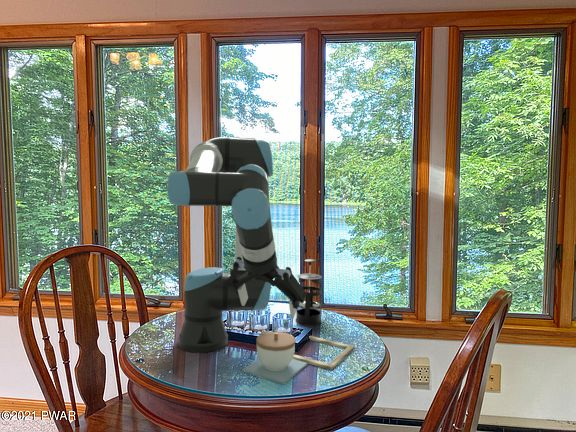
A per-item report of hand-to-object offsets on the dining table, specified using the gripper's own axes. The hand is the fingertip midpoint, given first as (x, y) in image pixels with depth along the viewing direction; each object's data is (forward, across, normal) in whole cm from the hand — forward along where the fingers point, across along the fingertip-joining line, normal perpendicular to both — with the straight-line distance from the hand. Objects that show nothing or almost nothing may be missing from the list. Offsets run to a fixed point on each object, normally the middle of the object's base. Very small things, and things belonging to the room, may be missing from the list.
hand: (269, 307), depth 105 cm
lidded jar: (+18, +2, -6) cm, 19 cm away
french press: (+43, +1, +25) cm, 50 cm away
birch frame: (+26, +11, +6) cm, 29 cm away
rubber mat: (+18, +2, -7) cm, 20 cm away
